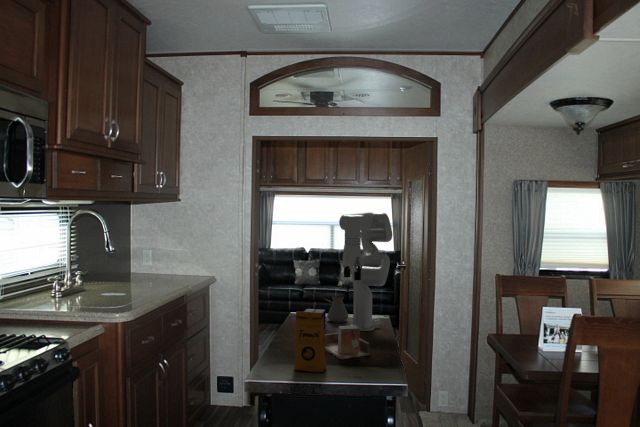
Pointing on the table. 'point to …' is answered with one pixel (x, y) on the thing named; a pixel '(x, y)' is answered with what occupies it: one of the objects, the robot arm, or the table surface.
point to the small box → (348, 339)
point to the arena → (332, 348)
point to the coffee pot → (336, 309)
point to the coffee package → (310, 342)
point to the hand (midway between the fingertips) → (352, 278)
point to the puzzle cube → (319, 312)
